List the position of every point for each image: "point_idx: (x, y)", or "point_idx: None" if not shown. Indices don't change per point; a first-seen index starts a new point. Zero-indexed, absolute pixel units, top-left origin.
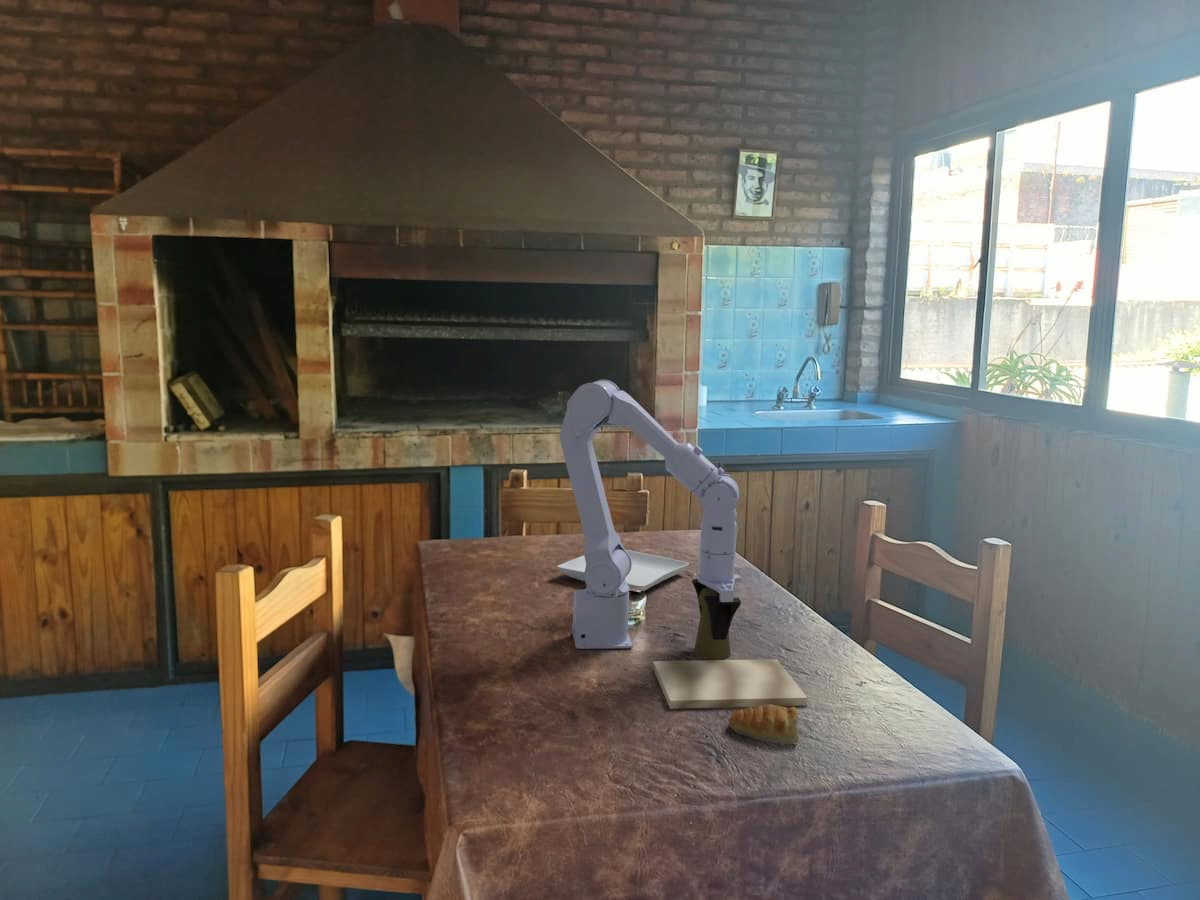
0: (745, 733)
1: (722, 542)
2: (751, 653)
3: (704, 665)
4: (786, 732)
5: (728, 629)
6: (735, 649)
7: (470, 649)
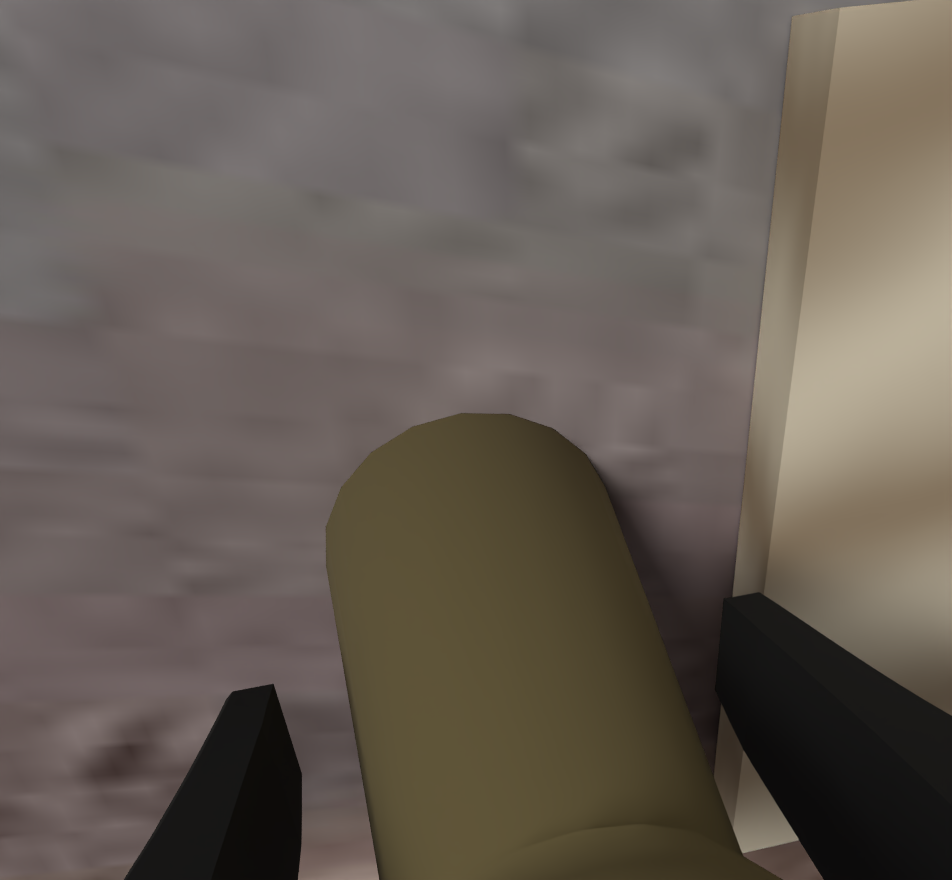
0: None
1: None
2: (462, 220)
3: (837, 631)
4: None
5: (852, 655)
6: (374, 361)
7: None
